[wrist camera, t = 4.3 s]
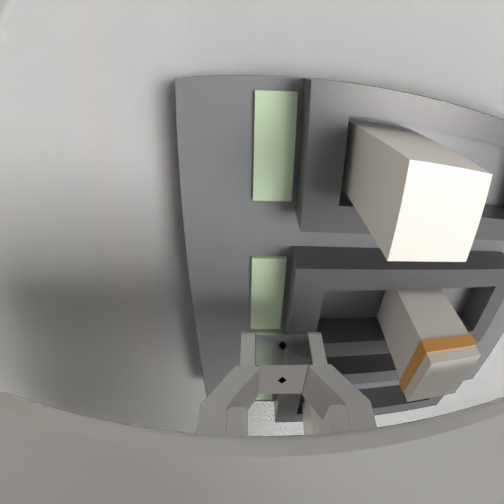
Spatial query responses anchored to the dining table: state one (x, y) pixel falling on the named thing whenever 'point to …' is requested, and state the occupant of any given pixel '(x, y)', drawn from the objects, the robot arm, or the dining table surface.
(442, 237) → the breaker near
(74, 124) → the dining table surface
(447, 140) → the panel
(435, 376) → the block
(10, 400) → the robot arm
